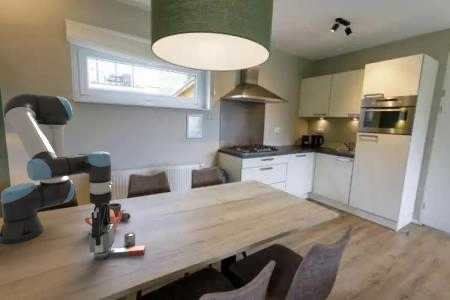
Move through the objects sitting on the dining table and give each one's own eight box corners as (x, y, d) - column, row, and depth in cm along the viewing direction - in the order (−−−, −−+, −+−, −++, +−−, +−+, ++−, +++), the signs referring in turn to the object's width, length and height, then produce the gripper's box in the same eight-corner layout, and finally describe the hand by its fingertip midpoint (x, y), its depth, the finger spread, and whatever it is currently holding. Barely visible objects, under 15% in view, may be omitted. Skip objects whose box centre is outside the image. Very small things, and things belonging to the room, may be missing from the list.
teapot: (86, 228, 112) (85, 208, 110) (125, 222, 120) (125, 203, 119) (84, 239, 102) (83, 218, 100) (127, 232, 110) (126, 211, 109)
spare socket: (123, 248, 96) (123, 237, 95) (125, 243, 100) (125, 232, 100) (134, 247, 97) (134, 237, 96) (136, 242, 101) (136, 232, 101)
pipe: (125, 223, 119) (125, 208, 118) (105, 219, 122) (104, 205, 121) (132, 218, 125) (132, 204, 124) (112, 215, 128) (112, 202, 127)
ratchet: (91, 261, 87) (91, 244, 86) (97, 252, 93) (96, 236, 92) (143, 256, 91) (143, 240, 90) (145, 248, 97) (145, 233, 96)
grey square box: (89, 252, 86) (88, 233, 85) (96, 242, 93) (95, 224, 92) (109, 251, 87) (108, 231, 86) (114, 241, 94) (113, 223, 93)
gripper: (102, 200, 78) (104, 260, 81) (117, 183, 97) (119, 233, 100) (78, 200, 76) (81, 262, 79) (99, 184, 96) (100, 234, 99)
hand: (102, 246), depth 90 cm, fingers closed on grey square box, 7 cm apart
